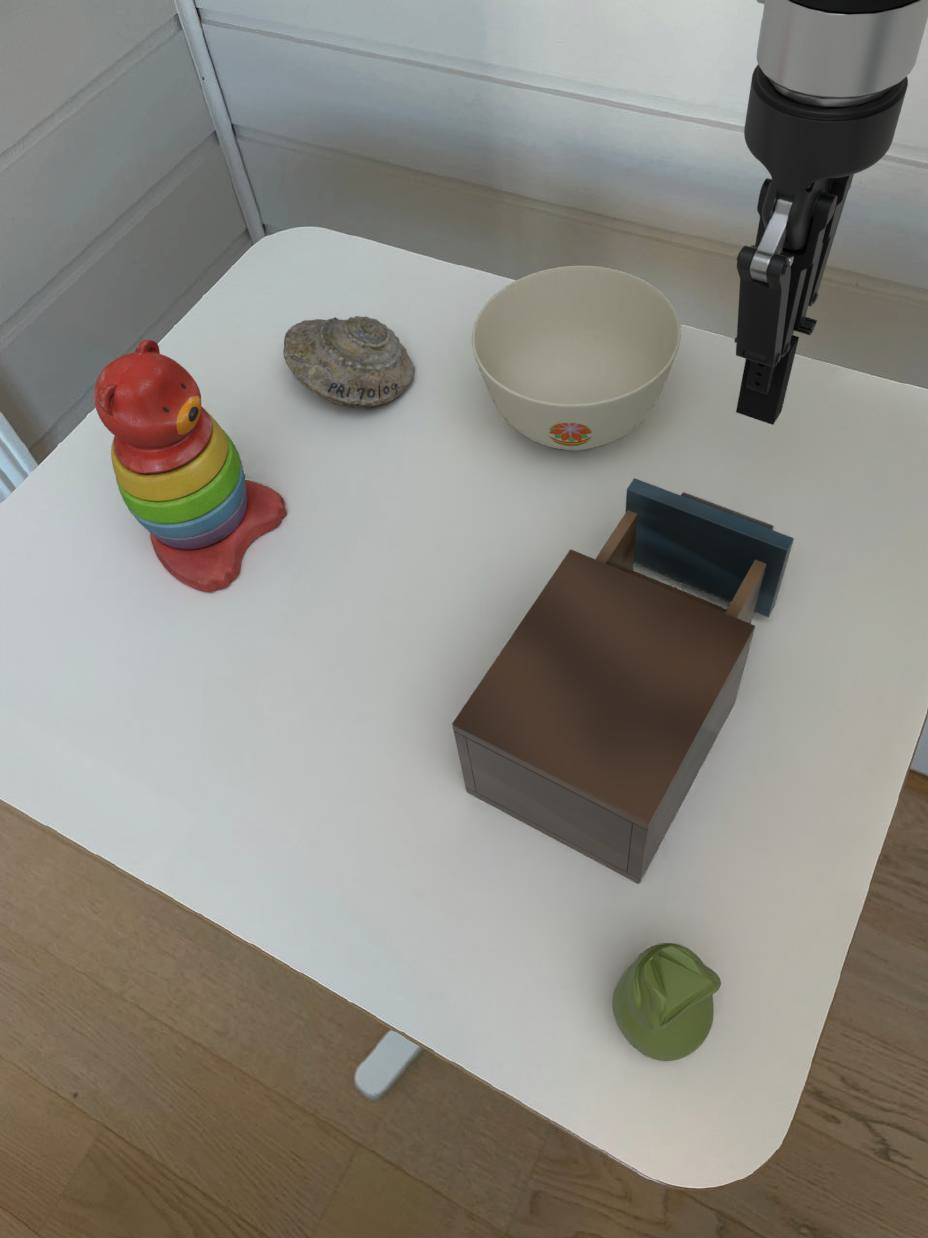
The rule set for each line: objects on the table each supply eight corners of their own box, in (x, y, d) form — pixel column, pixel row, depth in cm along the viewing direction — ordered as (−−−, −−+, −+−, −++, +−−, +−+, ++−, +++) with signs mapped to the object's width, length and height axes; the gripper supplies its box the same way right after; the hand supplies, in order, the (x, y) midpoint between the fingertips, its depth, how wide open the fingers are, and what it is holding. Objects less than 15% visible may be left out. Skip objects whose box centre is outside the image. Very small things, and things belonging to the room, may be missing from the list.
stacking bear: (219, 601, 79) (137, 441, 64) (122, 557, 82) (23, 396, 67) (297, 505, 83) (237, 335, 69) (202, 467, 87) (126, 298, 72)
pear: (669, 953, 61) (683, 899, 52) (728, 1031, 58) (753, 987, 50) (594, 1007, 59) (597, 960, 51) (651, 1089, 57) (663, 1054, 48)
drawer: (653, 509, 78) (660, 437, 72) (796, 564, 74) (818, 494, 68) (541, 682, 71) (538, 620, 64) (695, 755, 67) (708, 696, 60)
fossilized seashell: (360, 427, 85) (333, 349, 81) (279, 419, 92) (250, 348, 88) (436, 371, 91) (414, 296, 87) (355, 367, 98) (331, 298, 94)
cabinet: (571, 629, 74) (570, 548, 66) (734, 703, 70) (755, 625, 61) (466, 792, 68) (451, 723, 60) (639, 884, 63) (648, 824, 55)
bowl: (698, 387, 87) (711, 291, 78) (627, 519, 79) (632, 429, 71) (530, 341, 92) (526, 247, 84) (449, 461, 85) (435, 371, 76)
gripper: (807, -7, 54) (745, 337, 74) (705, 119, 48) (667, 456, 68) (949, 18, 51) (845, 369, 71) (859, 155, 46) (773, 494, 65)
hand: (758, 411), depth 69 cm, fingers closed
